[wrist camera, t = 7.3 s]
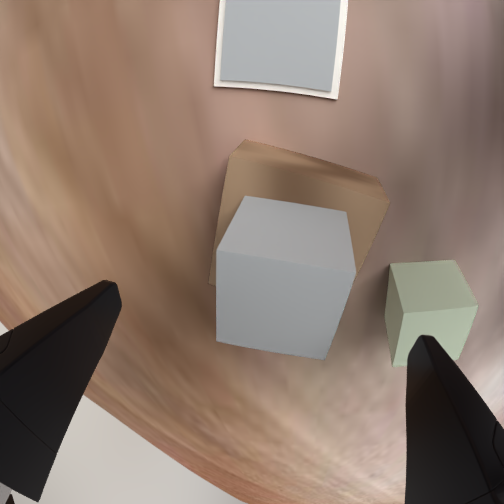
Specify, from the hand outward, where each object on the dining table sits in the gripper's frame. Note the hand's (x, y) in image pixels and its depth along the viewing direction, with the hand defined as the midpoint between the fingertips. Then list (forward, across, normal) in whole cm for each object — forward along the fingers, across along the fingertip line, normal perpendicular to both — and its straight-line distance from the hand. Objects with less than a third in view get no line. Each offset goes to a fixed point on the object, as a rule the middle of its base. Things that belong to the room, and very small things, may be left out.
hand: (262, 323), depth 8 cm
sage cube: (+12, -10, +7) cm, 17 cm away
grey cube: (+8, 0, +2) cm, 8 cm away
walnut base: (+12, 0, +3) cm, 12 cm away
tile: (+12, +2, -8) cm, 15 cm away
